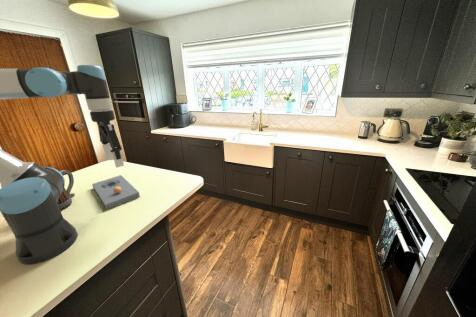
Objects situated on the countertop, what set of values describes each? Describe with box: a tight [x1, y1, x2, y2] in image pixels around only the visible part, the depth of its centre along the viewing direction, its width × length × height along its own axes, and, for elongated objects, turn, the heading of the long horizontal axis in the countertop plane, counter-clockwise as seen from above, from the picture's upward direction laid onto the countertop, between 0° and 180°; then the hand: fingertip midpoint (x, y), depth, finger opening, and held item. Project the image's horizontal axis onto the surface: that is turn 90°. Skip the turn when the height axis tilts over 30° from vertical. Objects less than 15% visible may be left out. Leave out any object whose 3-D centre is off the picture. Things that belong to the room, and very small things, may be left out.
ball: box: [114, 187, 121, 193], centre depth 93 cm, size 3×3×3 cm
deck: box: [91, 175, 141, 211], centre depth 99 cm, size 28×14×2 cm, turn 45°
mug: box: [57, 169, 76, 212], centre depth 89 cm, size 16×11×15 cm
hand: (114, 162), depth 82 cm, fingers open, 13 cm apart
